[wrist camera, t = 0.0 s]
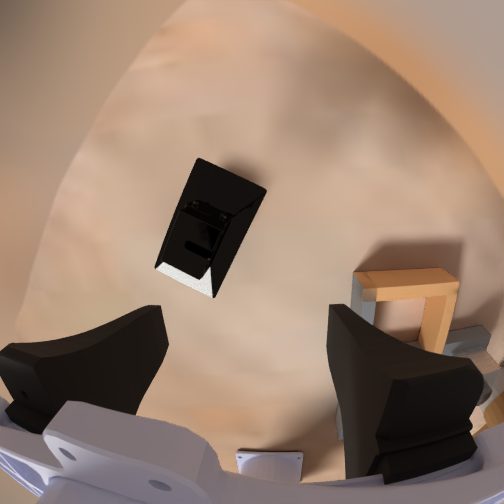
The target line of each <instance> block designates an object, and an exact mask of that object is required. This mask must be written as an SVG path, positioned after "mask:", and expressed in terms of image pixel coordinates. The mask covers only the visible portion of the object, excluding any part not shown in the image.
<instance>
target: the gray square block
mask: <svg viewBox="0 0 504 504" xmlns="http://www.w3.org/2000/svg"><path fill="white" fill-rule="evenodd" d="M490 337H491V334H490V333H489V332H488V331H487V330H486V329H485V328H484V327H483V326H482V325H479V326H474V327H469V328H464V329H459V330H453V331H448V335H447V339H446V342H445V345H444V349H443V352H442V355H447V356H450V354H451V352H454V351H459V350H463V349H468V348H472V347H476V346H480V345H482V346H483V347H484V348H485V349H487V346H488V343H489V340H490Z"/></svg>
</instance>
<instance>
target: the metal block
mask: <svg viewBox="0 0 504 504" xmlns="http://www.w3.org/2000/svg"><path fill="white" fill-rule="evenodd" d="M450 356H455V357H463V358H470V359H471V360H472V361H473V363H474V364H475V365H476V367H477V368H478V369H479V370H480V372H481V373H482V374H483V377H484V389H483V391H482V394H481V397H480V399H479V401H478V403H477V405H476V406H479V405H481V404H483V403H484V402H486V401H487V400H488V399H489V397H490V396H491V394H492V388H493V386H494V384H495V382H496V380H497V377H498V375H499V373H500V371H501V367H500V366H499V364H498V363H497V362H496V361H495V360H494V359H493V357H492V356H491V355H490V354H489V353H488V352H487V351H486V349H485V348H484V347H483V346H482V345H480V346H476V347H472V348H468V349H463V350H459V351H454V352H451V354H450Z"/></svg>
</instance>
